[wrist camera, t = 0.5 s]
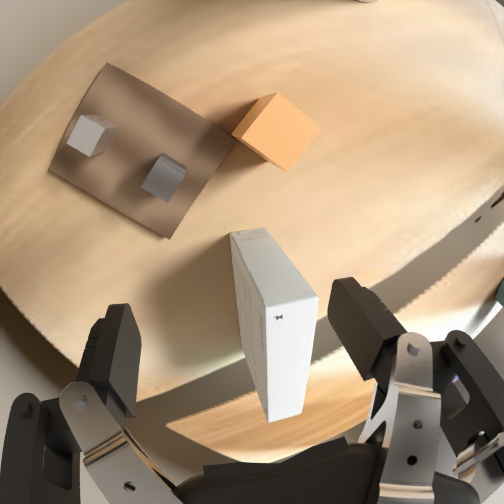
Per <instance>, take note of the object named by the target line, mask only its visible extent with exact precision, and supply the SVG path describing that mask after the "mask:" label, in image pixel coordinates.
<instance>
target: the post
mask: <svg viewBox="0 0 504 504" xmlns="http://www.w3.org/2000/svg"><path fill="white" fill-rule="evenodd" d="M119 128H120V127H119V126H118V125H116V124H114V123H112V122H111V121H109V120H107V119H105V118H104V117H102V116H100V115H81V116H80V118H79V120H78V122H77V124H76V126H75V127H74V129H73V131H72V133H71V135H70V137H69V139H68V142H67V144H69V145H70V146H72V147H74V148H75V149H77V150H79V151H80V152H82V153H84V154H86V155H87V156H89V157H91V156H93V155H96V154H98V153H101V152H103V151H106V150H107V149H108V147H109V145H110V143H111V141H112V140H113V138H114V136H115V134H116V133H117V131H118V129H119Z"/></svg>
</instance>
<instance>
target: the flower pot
mask: <svg viewBox="0 0 504 504" xmlns="http://www.w3.org/2000/svg"><path fill="white" fill-rule="evenodd" d="M496 300H497V301H498V302H499V303H500V304H501V305H502V306H503V307H504V278H503V280H502V282H501V284H500V286H499V288H498V293H497V294H496Z"/></svg>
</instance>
